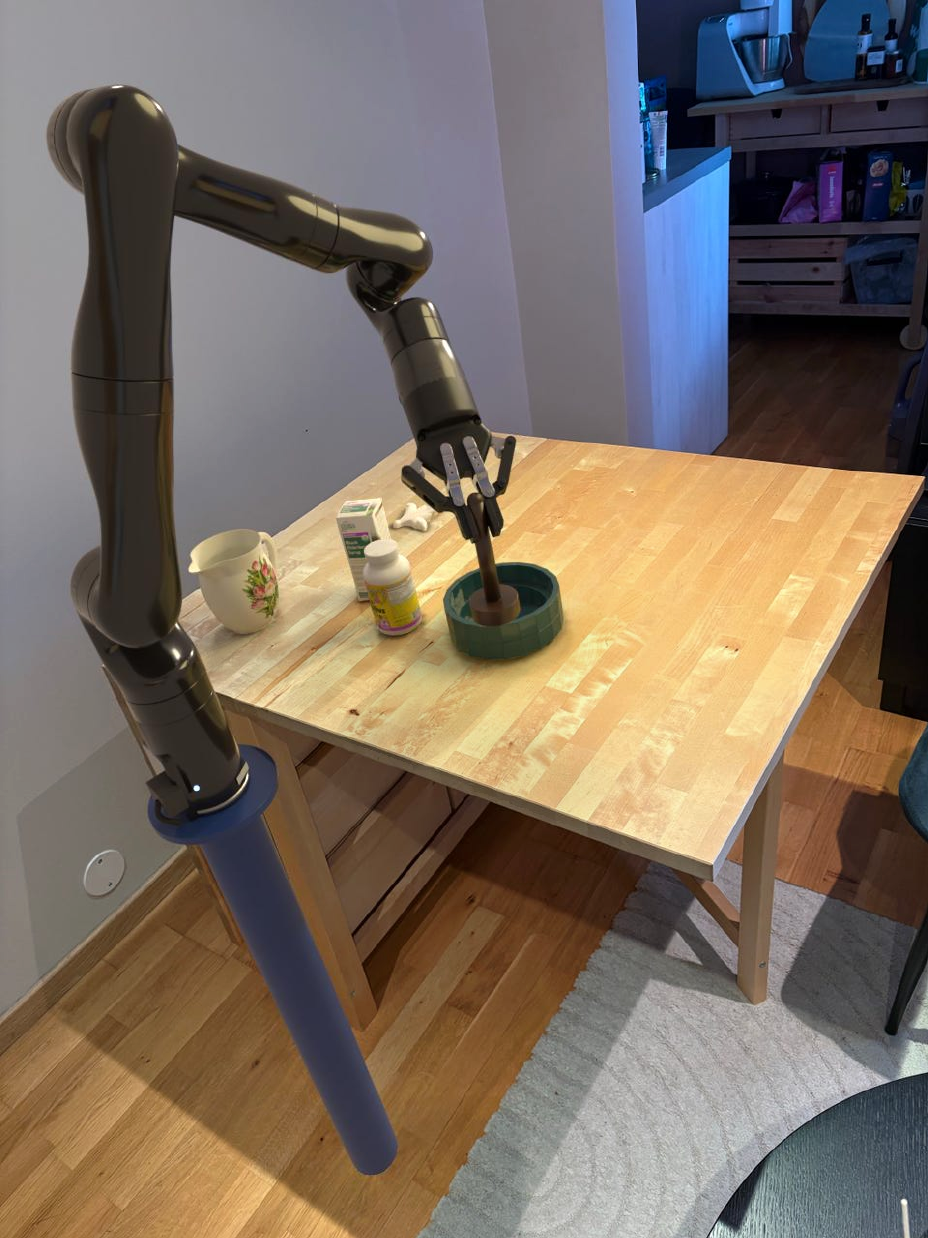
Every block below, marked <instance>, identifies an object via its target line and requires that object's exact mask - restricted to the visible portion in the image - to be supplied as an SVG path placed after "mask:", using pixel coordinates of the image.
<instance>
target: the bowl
mask: <svg viewBox="0 0 928 1238" xmlns="http://www.w3.org/2000/svg"><path fill="white" fill-rule="evenodd" d="M495 565H496V570H497V575H498V581H499V585H508V586H511V587H513V588H514V589H515V590H516V591H517V592H518V596H519V602H520V608H521V610H520V613H519V615H518V616H517V617H516V618H515V619H514V620H513V621H511V622H509V623H507V624H504V625H501V626H494V627H488V626H482V625H479V624H477V623H476V622H475V621H474V620H473V618H472V614H471V609H470V605H469V600H470V597H471V596H472V595H473V593H475V592H476V591H477V590H479V589H481V588H483V583H482V578H481V573H480V568H479V567H478V568H476V569H473V570H469V571H468V572H466V573H464V574H463V575H462V576H459V578H457V579H455V580H454V582H452V583H451V584H450V585H449V586H448V587H447V588H446V590H445V593H444V596H443V598H442V603H443V604H442V605H443V608H444V609H443V610H444V615H445V618H446V623H447V628H448V633H449V637H450V641H451V643H452V644H453V646H455V648H456V649H457V650H458V651H459V652H461V653H463V654H465V655H467V656H468V657H472V658H475V659H481V660H486V661H503V660H505V661H506V660H511V659H517V658H520V657H525V656H528V655H530V654H532V653H535V652H537V651H539V650H542V649H543V648H545V647H546V646H547V645H549V644H550V643H552V642H553V641H554V640H555V639H556V637H557V636H558V635H559V634H560V632H561V631H562V629H563V625H564V619H565V618H564V617H565V616H564V609H563V602H562V595H561V588H560V583H559V580H558V578H557V576H556V575H555V574H554V573H552V572H551V571H550V570H549V569H548V568H546V567H543V566H540V565H538V564H535V563H530V562H523V561H507V562H504V561H503V562H498V563H495Z"/></svg>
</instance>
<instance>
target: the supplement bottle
mask: <svg viewBox="0 0 928 1238" xmlns="http://www.w3.org/2000/svg"><path fill="white" fill-rule="evenodd" d="M364 554H365V559H366V560H367V562H368V563H367V564H366V565H365V567H364V569H363V577H364V581H365V584H366V588H367V592H368V596H369V599H370V600H369V603H370V607H371V610H372V614H373V617H374V621H375V624H376V627H377V629H378V631H379V632H381V633H382V634H385V635H386V636H402V635H405V634H408V633H410V632H412V631H413V630H415V629H416V628H418V626H420V624H421V622H422V619H423V615H422V610H421V606H420V602H419V598H418V594H417V590H416V585H415V582H414V577H413V573H412V569H411V565H410V564H411V563H410V562H409V560H408V559H407V558H406V557H405V556H404V555H402V554H400V549H399V545H398V542H397V541H396V540H394V539H392V538H391V539H381V540H377V541H374V542H372V543H370V544H369V545H367V546H366V547H365V549H364Z"/></svg>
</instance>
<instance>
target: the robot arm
mask: <svg viewBox="0 0 928 1238" xmlns="http://www.w3.org/2000/svg"><path fill="white" fill-rule="evenodd" d="M45 139H46V140H45V141H46V146H47V151H48V154H49V155H48V156H49V158H50V160H51V162H52V164H53V166H54V169H55V170H56V171H57V172H58V174H59V175H60V176H61V178H62V179H63V180H64V181H65V182H66V183H67V184H68V185H69V186H70V187H71V188H72V189H73V190H75V191H76V192H78V193H79V194H81V195H82V196H83V197H84V206H85V218H86V229H87V245H88V247H87V249H88V251H87V252H88V253H87V255H88V256H87V268H86V273H85V274H86V276H85V279H84V285H83V290H82V293H81V298H80V302H79V305H78V310H77V313H76V318H75V323H74V326H73V327H74V328H73V335H72V340H71V349H70V371H71V372H70V385H71V401H72V402H71V404H72V405H71V407H72V412H73V413H72V414H73V421H74V428H75V432H76V439H77V442H78V446H79V449H80V453H81V457H82V460H83V463H84V466H85V469H86V473H87V475H88V476H87V477H88V478H89V481H90V485H91V488H92V491H93V494H94V498H95V501H96V506H97V510H98V517H99V530H100V544H99V545H97V546H95V547H93V548H91V549H89V550H88V551H86V552H85V553H84V554H83V555H82V556H81V557H80V558H79V560H78V561H76V564H75V566H74V568H73V570H72V573H71V576H70V581H69V593H70V598H71V601H72V604H73V607H74V610H75V612H76V614H77V617H78V618H79V620H80V622H81V625H82V626H83V628H84V630H85V632H86V634H87V636H88V637H89V639H90V641H91V643H92V645H93V647H94V650H95V651H96V653H97V656H98V657H99V659H100V661H101V663H102V664H103V666H104V668H105V669H106V671H107V672H108V674H109V675H110V677H111V679H113V681H114V683H115V684H116V686H117V687H118V689H119V691H120V693H121V695H122V697H123V699H124V701H125V703H126V705H127V707H128V709H129V711H130V714H131V715H132V717H133V719H134V721H135V724H136V726H137V727H138V730H139V732H140V734H141V736H142V738H143V739H142V740H141V746H142V749H143V750H144V752H145V754H146V756H147V758H148V760H149V762H150V764H151V767H152V768H153V771H154V772H155V776H153V777H152V778H150V779H148V780H147V781H145V785H146V787H147V789H148V791H149V793H150V796H151V795H152V797H153V799H154V801H155V816H156V818H157V819H158V820H159V821H160V822H162V823H165V824H172V825H178V826H179V825H180V823H181V820H179V819H174V818H173V817H174V816H176V815H177V814H179V813H180V812H181V813H182V814H183V815H184V816H185V817H186V818H187V819H188V820H189V821H190V822H192V821H194V820H196V819H197V818H199V817H204V816H209V815H213V814H216V813H218V812H221V811H223V810H225V809H227V808H229V807H230V806H232V805H233V804H234V803H236V802H237V801H238V800H239V799H240V798H241V797H242V796H243V795H244V793H245V792H246V790H247V789H248V786H249V784H250V773H249V771H248V769H249V767H248V765H247V762H246V763H245V762H244V760H243V758H242V756H241V754H240V751H239V749H238V746H237V744H238V743H237V742H236V739H235V736H234V734H233V732H232V729H231V727H230V724H229V722H228V720H227V718H226V715H225V712H224V710H223V708H222V705H221V703H220V700H219V698H218V695H217V693H216V690H215V688H214V685H213V683H212V681H211V678H210V676H209V673H208V671H207V668H206V666H205V663H204V661H203V659H202V656H201V653H200V652H199V650H198V648H197V646H196V644H195V642H194V641H193V639H192V638H191V637H190V635H188V634H187V632H186V630H185V629H184V628H183V625H181V623H180V621H179V617H180V615H181V611H182V606H183V605H182V604H183V585H182V575H181V568H180V561H179V553H178V545H177V535H176V526H175V524H176V523H175V512H174V510H175V509H174V488H175V487H174V486H175V485H174V484H175V483H174V482H175V480H174V478H175V477H174V476H175V473H174V472H175V471H174V470H175V469H174V468H175V465H174V463H175V461H174V427H175V424H174V422H175V390H174V388H175V384H174V381H175V380H174V377H175V374H174V356H173V355H174V354H173V352H174V351H173V304H172V301H173V300H172V272H171V270H172V248H173V237H174V224H175V217H177V218H179V219H182V220H187V221H188V222H189V221H190V222H192V223H195V224H197V225H201V226H204V227H206V228H209V229H211V230H214V231H217V232H219V233H223V234H225V235H227V236H229V237H232V238H234V239H236V240H238V241H242V242H244V243H246V244H249V245H251V246H253V247H255V248H258V249H260V250H262V251H265V252H267V253H270V254H272V255H275V256H277V257H279V258H282V259H285V260H287V261H289V262H292V263H295V264H297V265H300V266H303V267H305V268H306V269H307V268H308V269H309V270H313V271H315V272H318V273H322V274H327V275H331V274H336V273H338V272H341V271H342V270H344V269H345V283H346V287H347V290H348V292H349V294H350V296H351V297H352V299H353V300H354V301H355V303H356V304H357V306H358V307H359V308H360V309H361V311H362V312H363V313H364V315H365V317H366V318H367V319H368V321H369V322H370V324H371V325H372V326H373V328H374V329H375V331H376V332H377V334H378V336H379V337H380V338H381V341H382V344H383V347H384V350H385V353H386V355H387V358H388V363H389V365H390V368H391V371H392V374H393V381H394V384H395V385H394V386H395V388H396V390H397V391H396V392H397V394H398V401H399V403H400V405H401V406H402V408H403V411H404V414H405V416H406V419H407V422H408V426H409V428H410V431H411V434H412V436H413V439H414V442H415V445H416V449H415V450H416V451H415V459H414V460H413V461H411V463H410V464H409V465H408V464H406V465H404V466H402V468H401V474H400V475H401V476H400V477H401V479H400V480H401V483H403V484H404V485H405V486H406V487H407V488H408V489H409V490H410V491H412V492H413V493H414V495H416V496H417V497H419V498H420V499H421V500H422V501H423V502H424V503H425V504H427V506H430V507H432V508H433V509H434V510H435V511H436V512H438V514H442V513H444V512H447V513H452V514H453V515H454V517H455V519H456V523H457V525H458V527H459V530H460V533H461V536H462V538H463V539H464V540H465V541H468V540H469V541H470V544H472V545H475V543H477V542H478V541H479V533H478V530H477V528H476V525H475V522H474V519H473V517H472V514H471V511H470V508H469V505H467V503H466V499H465V495H464V492H463V487H462V483H461V480H462V479H470V481H471V484H472V485H473V488H475V490H476V492H477V493H479V494H481V495H482V497H483V499H484V505H485V510H486V516H487V521H488V527H489V532H490V535H491V537H492V538H496V537H499V536H500V535H501V534H502V530H503V527H504V525H505V524H504V521H505V520H504V517H503V514H502V512H501V509H500V505H499V503H498V501H497V498H498V497H500V496H503V495H505V494H506V491H507V488H508V485H509V482H510V477H511V472H512V467H513V462H514V457H515V456H514V455H515V452H516V447H517V439H516V438H517V437H515V436H513V435H507V436H506V437H501V436H494V435H493V434H492V432H491V430H489V429H488V428H487V427H486V426H485V424H484V423H483V421H482V418H481V415H480V412H479V409H478V407H477V404H476V402H475V401H476V400H475V399H474V396H473V394H472V391H471V388H470V385H469V383H468V381H467V377H466V375H465V372H464V369H463V366H462V363H461V361H460V360H459V358H458V355H457V354H456V352H455V350H454V348H453V345H452V343H451V340H450V338H449V335H448V333H447V330H446V327H445V324H444V322H443V319H442V316H441V314H440V311H439V310H438V308H437V306H436V305H435V303H434V302H433V301H431V300H430V299H428V298H426V297H423V296H422V297H421V296H415V297H408V298H404V299H402V298H403V296H404V295H406V293H407V292H408V291H409V290H411V288H412V287H413V286H414V285H415V284H416V283H417V282H418V281H419V280H421V279H422V278H423V276H425V274H426V273H428V271H429V269H430V267H431V266H432V263H433V259H434V249H433V245H432V242H431V240H430V237H429V236H428V235H427V233H426V231H424V230H423V228H421V226H419V225H418V223H416V222H414V221H413V220H412V219H409V218H407V217H405V216H403V215H400V214H397V213H394V212H389V211H383V210H376V209H375V210H374V209H368V208H361V207H354V206H353V207H352V206H351V207H349V206H342V205H339V204H337V203H334V202H332V201H330V200H329V199H326V198H324V197H322V196H319V195H317V194H315V193H313V192H310V191H309V190H306V189H304V188H302V187H299V186H297V185H294V184H291V183H289V182H286V181H283V180H281V179H277V178H275V177H271V176H268V175H264V174H261V173H259V172H258V173H257V172H255V171H251V170H247V169H245V168H241V167H238V166H234V165H231V164H227V163H225V162H222V161H219V160H216V159H213V158H211V157H208V156H206V155H204V154H201V153H199V152H196V151H194V150H192V149H190V148H187V147H186V146H183V145H181V144H179V143H178V140H177V136H176V132H175V129H174V127H173V123H172V121H171V120H170V118H169V116H168V114H167V112H166V111H165V109H164V108H163V106H162V105H161V104H160V103H159V102H158V101H157V100H156V99H155V98H154V97H153V96H152V95H150V93H148V92H146V91H144V90H143V89H141V88H139V87H136V86H133V85H128V84H123V83H122V84H120V83H119V84H118V83H117V84H116V83H115V84H110V85H102V86H97V87H95V88H89V89H84V90H80V91H78V92H76V93H73V94H71V95H69V96H68V97H66V98H65V99H63V100H62V101H61V102H60V103H58V105H57V106H56V107H54V110H53V112H52V113H51V115H50V117H49V119H48V123H47V125H46V131H45ZM490 448H492V449H493V451H494V457H495V458H496V459H498V460H499V465H498V471H497V475H496V480H494V481H493V482H491V479H490V477H489V472H488V470H487V467H486V464H485V463H486V460H487V458H488V454H489V451H490ZM423 468H424V469H425V470H426V471H428V472H430V473H431V474H433V475H434V476H435V477H436V478H438V479H439V480H441V481H443V485H444V487H445V492H446V495H445V494H443V492H441V491H440V490H439V489H438V488H436V486H434V485H433V484H432V483H431V482H430V481H428V480H427V479H426V473H425V470H424V469H423ZM161 808H162V809H163V810H164V811H165V812H166V813H167V814H168V815H169V816H170V817H171V818H167V817H164V816H163V815H162V813H161Z"/></svg>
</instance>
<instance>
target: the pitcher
mask: <svg viewBox="0 0 928 1238" xmlns="http://www.w3.org/2000/svg"><path fill="white" fill-rule="evenodd" d="M262 542H263V543H264V545H265V547H266V550H267V553H268V556H267V555H266V553H264V551H263V543H262ZM189 557H190V559H191V563H190V564H189V566H188V569H187V572H188V573H189V574H192V575H198V583H199V589H200V591H201V595H202V597H203V600H204V601H205V604H206V605H207V607H208V609H209V610H210V612H211V613H212V615H213V616H214V617H215V618H216V619H217V621H218V622H220V623H221V624H222V625H223V626H224V627H226V628H227V629H229V630H230V631H233V632H234V633H236V634H241V635H247V634H253V633H256V632H259V631H261V630H263V629H265V628H266V627H268V626H269V625H270V624H271V623H272V622H273V620H274V618H275V616H276V613H277V611H278V608H279V607H278V606H279V598H280V597H279V595H280V594H279V584H278V578H277V574H278V569H279V554H278V550H277V547H276V544H275V541H274V540H273V538H272V537H271V536H270V535H269V534H268V533H267V532H264V531H258V532H257V531H256V530H253V529H247V528H240V529H239V528H238V529H232V530H227V531H223V532H219V533H217V534H214V535H211V536H210V537H208V538H206V539H204V540H202V541H201V542H200V543H198V544H197V545H195V547H194V548H193V549H192V550H191V551H190V554H189Z"/></svg>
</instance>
